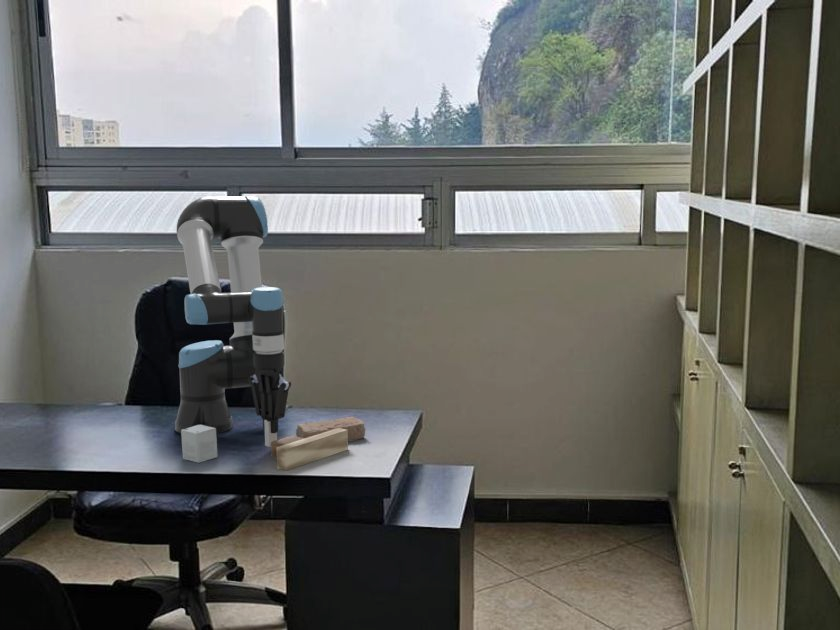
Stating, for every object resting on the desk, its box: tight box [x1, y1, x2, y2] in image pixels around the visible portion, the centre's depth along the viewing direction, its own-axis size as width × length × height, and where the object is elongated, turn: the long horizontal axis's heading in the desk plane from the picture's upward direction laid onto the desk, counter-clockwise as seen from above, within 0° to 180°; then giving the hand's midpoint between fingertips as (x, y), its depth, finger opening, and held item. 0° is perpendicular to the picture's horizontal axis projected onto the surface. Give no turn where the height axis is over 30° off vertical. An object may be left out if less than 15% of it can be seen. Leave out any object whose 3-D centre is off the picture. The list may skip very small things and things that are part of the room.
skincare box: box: [180, 425, 218, 464], centre depth 213 cm, size 6×6×7 cm
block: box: [270, 435, 305, 459], centre depth 215 cm, size 7×7×4 cm
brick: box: [295, 416, 366, 442], centre depth 229 cm, size 17×8×5 cm, turn 114°
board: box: [276, 428, 349, 471], centre depth 212 cm, size 3×21×5 cm, turn 142°
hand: (271, 444), depth 219 cm, fingers closed
